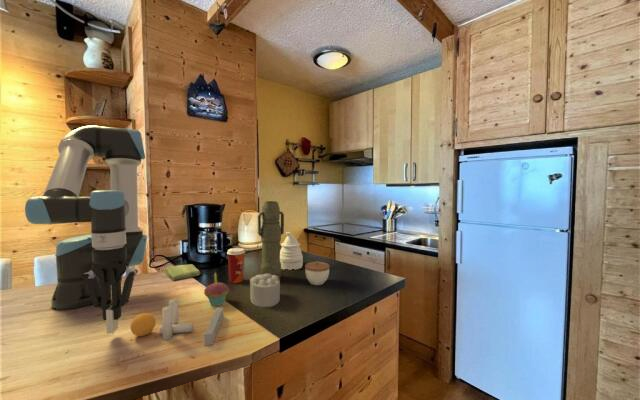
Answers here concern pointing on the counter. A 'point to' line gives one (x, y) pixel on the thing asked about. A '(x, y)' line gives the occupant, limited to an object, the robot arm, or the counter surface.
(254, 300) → the lumpy-topped squat cylinder
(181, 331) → the front pin
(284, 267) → the honey pot
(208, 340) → the white long bar
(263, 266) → the thermos
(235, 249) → the paper cup
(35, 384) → the counter surface
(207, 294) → the cupcake
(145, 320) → the ball
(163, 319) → the pin
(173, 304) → the pin
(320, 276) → the lidded jar
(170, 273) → the washcloth
